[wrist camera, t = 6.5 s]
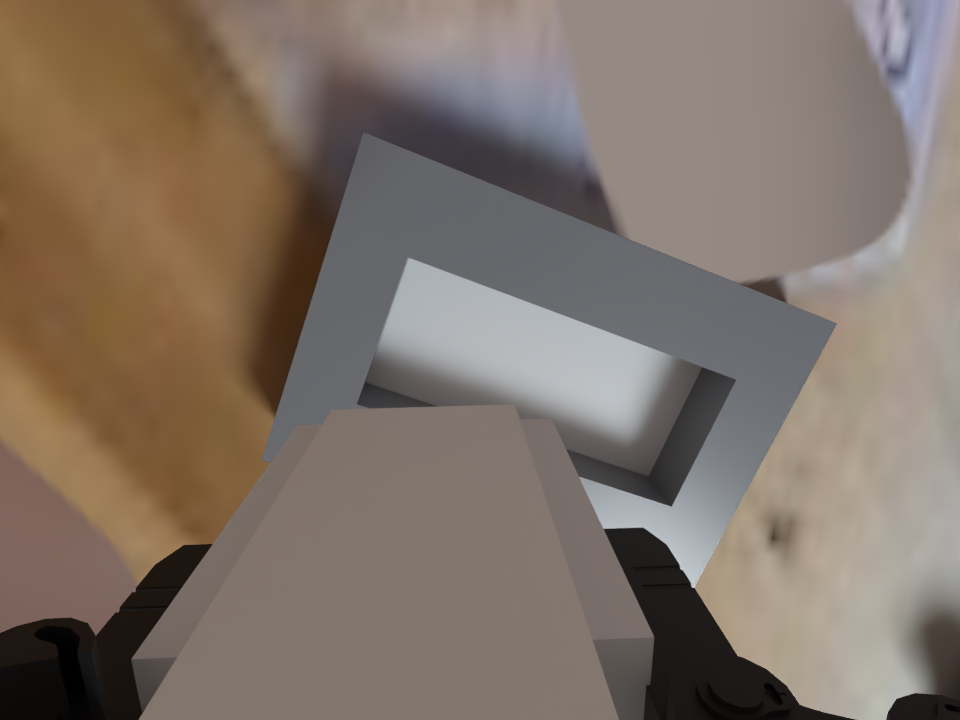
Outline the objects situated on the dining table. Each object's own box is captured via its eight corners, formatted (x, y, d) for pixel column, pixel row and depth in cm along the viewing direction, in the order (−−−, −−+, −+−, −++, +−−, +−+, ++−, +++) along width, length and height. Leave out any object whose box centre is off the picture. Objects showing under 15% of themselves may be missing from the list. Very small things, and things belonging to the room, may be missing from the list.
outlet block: (788, 308, 28) (837, 323, 24) (665, 547, 31) (692, 590, 27) (374, 141, 24) (363, 132, 21) (283, 428, 27) (261, 460, 24)
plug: (514, 563, 13) (628, 1199, 5) (345, 571, 13) (141, 1244, 5) (514, 404, 12) (658, 839, 4) (331, 409, 12) (40, 877, 4)
